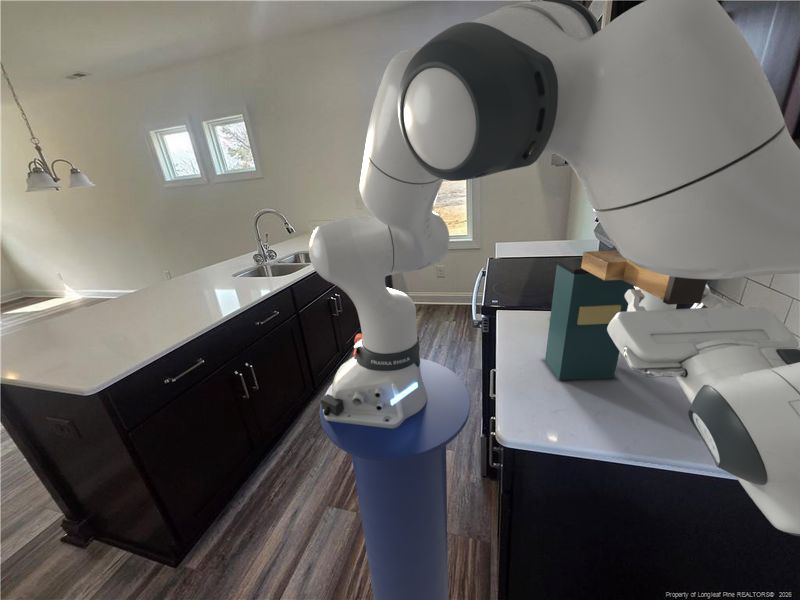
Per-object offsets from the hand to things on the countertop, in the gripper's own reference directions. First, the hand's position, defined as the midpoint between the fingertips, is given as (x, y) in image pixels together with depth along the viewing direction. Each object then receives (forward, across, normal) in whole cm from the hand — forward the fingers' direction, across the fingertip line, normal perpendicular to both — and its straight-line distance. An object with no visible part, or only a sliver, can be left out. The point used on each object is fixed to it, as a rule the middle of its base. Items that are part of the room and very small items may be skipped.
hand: (663, 290), depth 48 cm
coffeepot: (+20, +29, -42) cm, 55 cm away
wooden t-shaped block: (+4, 0, -3) cm, 5 cm away
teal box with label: (+3, 0, -32) cm, 32 cm away
